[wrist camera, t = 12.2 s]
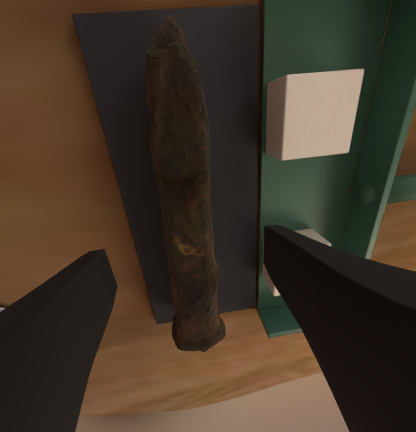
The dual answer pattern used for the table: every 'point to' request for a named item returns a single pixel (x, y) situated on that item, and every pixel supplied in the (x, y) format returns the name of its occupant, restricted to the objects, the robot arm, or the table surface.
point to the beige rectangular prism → (312, 113)
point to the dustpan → (372, 139)
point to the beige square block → (306, 232)
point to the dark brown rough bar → (184, 186)
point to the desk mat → (218, 134)
